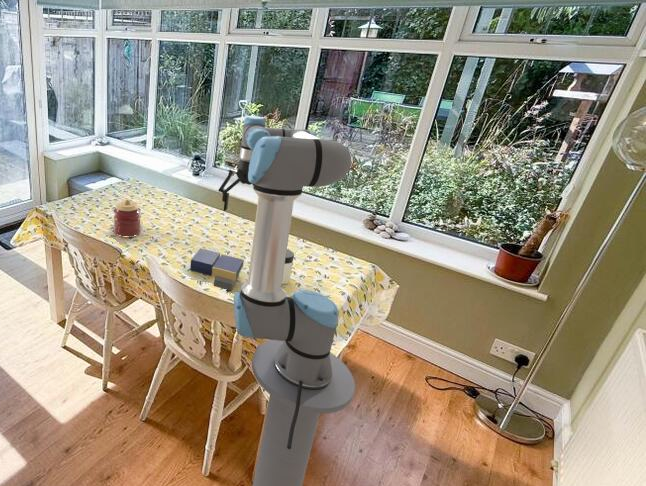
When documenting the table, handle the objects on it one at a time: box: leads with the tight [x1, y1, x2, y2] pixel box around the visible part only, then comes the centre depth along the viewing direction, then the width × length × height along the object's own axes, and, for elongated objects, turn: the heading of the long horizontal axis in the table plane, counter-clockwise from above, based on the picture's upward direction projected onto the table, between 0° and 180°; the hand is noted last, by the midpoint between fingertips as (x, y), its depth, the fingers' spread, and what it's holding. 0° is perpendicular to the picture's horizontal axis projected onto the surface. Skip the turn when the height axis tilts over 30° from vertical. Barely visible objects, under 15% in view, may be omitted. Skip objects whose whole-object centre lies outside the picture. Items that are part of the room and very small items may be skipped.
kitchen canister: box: [113, 198, 142, 236], centre depth 197 cm, size 13×13×18 cm
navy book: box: [211, 254, 245, 280], centre depth 159 cm, size 12×9×3 cm
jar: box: [282, 248, 295, 285], centre depth 162 cm, size 9×8×12 cm
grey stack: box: [212, 273, 240, 292], centre depth 160 cm, size 12×7×5 cm, turn 153°
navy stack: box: [189, 247, 221, 277], centre depth 171 cm, size 12×9×5 cm
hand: (242, 213), depth 158 cm, fingers open, 13 cm apart
